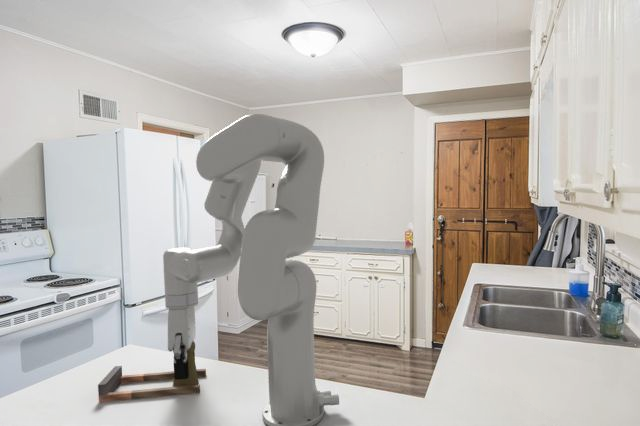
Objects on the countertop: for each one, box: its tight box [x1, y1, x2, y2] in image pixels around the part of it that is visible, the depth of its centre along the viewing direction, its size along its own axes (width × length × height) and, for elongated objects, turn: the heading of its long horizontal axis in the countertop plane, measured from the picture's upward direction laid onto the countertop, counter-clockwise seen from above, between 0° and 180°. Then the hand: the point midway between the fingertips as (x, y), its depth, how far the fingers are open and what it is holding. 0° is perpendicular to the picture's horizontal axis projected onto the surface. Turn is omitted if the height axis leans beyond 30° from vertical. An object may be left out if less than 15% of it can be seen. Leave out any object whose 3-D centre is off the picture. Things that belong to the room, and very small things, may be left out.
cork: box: [172, 340, 200, 387], centre depth 100 cm, size 6×6×11 cm
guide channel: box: [97, 365, 207, 403], centre depth 99 cm, size 22×10×4 cm, turn 97°
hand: (185, 371), depth 100 cm, fingers open, 7 cm apart
